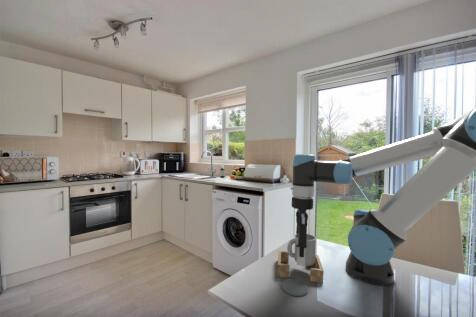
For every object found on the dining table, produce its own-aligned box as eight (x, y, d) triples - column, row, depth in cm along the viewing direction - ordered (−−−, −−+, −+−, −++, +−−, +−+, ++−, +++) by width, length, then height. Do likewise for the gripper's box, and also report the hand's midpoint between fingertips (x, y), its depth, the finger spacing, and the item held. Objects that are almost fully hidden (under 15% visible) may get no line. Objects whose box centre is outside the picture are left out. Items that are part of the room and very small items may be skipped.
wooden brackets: (317, 265, 87) (318, 255, 87) (322, 282, 76) (323, 270, 76) (278, 260, 90) (278, 250, 90) (277, 275, 79) (277, 264, 78)
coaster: (306, 283, 75) (306, 281, 75) (308, 298, 67) (309, 296, 67) (281, 279, 76) (281, 277, 76) (281, 293, 68) (281, 291, 68)
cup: (318, 266, 79) (318, 240, 79) (289, 265, 79) (290, 239, 79) (311, 257, 86) (311, 233, 86) (284, 256, 86) (285, 232, 86)
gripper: (291, 192, 93) (288, 248, 93) (292, 201, 73) (290, 272, 74) (310, 193, 92) (307, 250, 92) (317, 203, 72) (314, 275, 72)
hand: (300, 259), depth 83 cm, fingers closed on cup, 7 cm apart
